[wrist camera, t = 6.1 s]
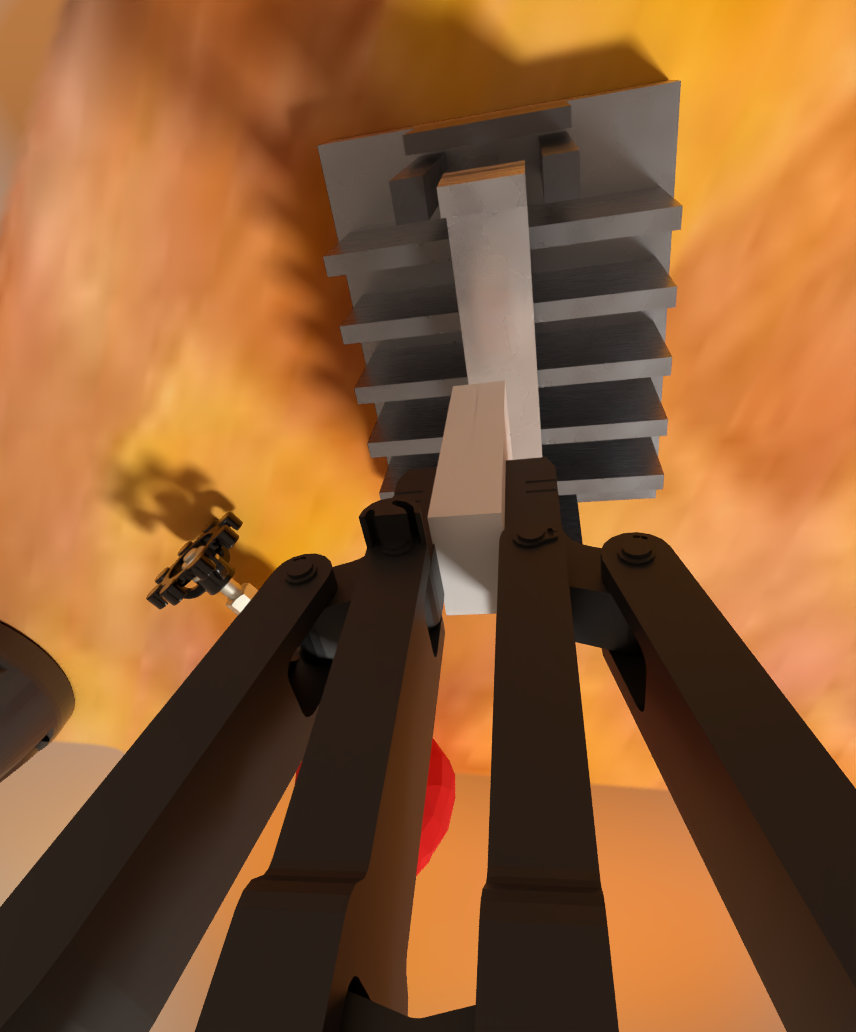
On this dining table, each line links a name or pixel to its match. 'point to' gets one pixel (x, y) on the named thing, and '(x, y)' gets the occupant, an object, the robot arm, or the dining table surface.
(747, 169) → the dining table surface
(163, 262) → the dining table surface
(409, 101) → the dining table surface
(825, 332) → the dining table surface
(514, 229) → the grey long bar
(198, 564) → the valve
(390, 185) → the heatsink
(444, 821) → the tomato
